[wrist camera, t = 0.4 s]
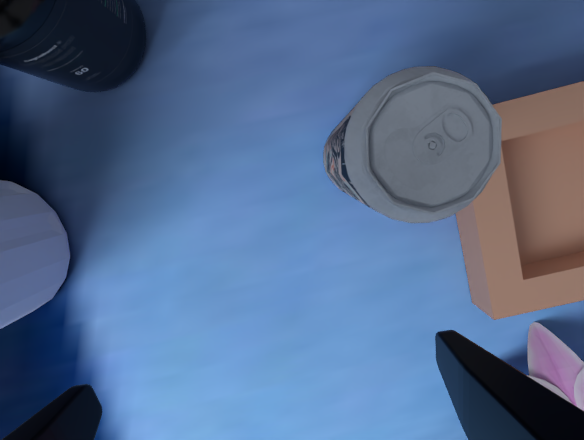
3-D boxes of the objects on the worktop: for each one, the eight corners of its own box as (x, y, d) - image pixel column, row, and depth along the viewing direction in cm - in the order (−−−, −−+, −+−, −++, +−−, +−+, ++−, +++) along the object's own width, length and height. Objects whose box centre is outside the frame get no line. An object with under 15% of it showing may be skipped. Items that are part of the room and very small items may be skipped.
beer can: (306, 151, 22) (313, 133, 10) (367, 100, 21) (453, 16, 9) (354, 210, 22) (415, 261, 10) (415, 162, 22) (553, 157, 10)
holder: (661, 260, 22) (708, 272, 20) (472, 302, 23) (493, 319, 20) (641, 67, 21) (690, 53, 18) (438, 120, 21) (456, 113, 19)
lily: (622, 292, 24) (705, 309, 15) (727, 486, 21) (904, 642, 12) (443, 334, 28) (430, 365, 20) (507, 498, 25) (524, 616, 17)
